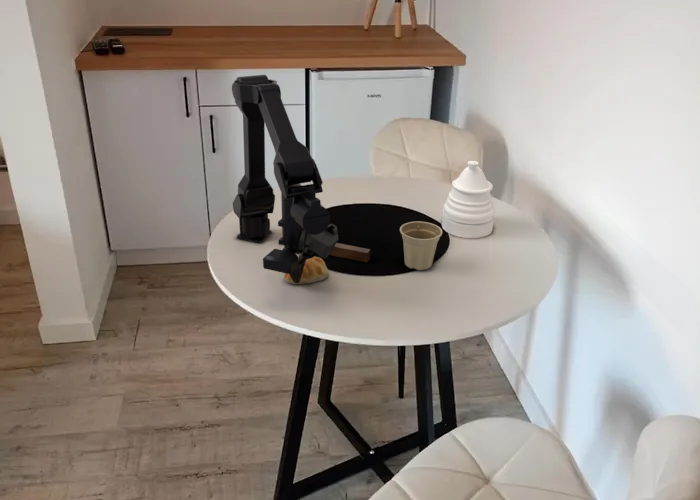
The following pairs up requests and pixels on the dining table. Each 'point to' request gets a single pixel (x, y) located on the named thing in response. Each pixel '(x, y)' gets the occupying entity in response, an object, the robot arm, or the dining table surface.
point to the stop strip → (351, 252)
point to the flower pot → (420, 243)
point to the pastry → (311, 271)
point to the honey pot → (469, 205)
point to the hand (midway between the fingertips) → (296, 282)
